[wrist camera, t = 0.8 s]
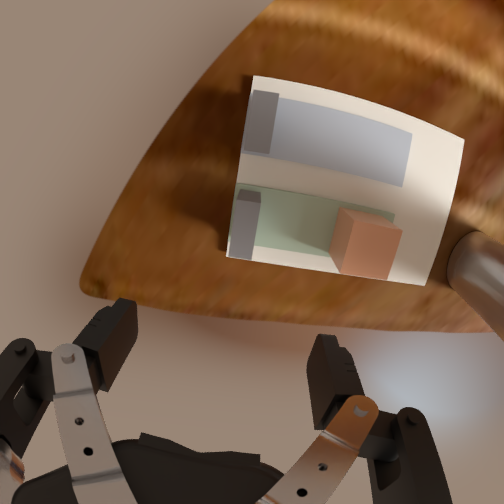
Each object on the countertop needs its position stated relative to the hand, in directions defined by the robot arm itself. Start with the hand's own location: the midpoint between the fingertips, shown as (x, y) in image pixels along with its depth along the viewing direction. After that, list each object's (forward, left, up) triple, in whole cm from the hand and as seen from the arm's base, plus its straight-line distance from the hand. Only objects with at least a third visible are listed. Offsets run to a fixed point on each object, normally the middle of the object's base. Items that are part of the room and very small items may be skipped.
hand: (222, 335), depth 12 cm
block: (-12, -1, -18) cm, 21 cm away
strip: (-7, -10, -19) cm, 22 cm away
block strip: (-7, -1, -19) cm, 20 cm away
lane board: (-11, -5, -20) cm, 23 cm away
